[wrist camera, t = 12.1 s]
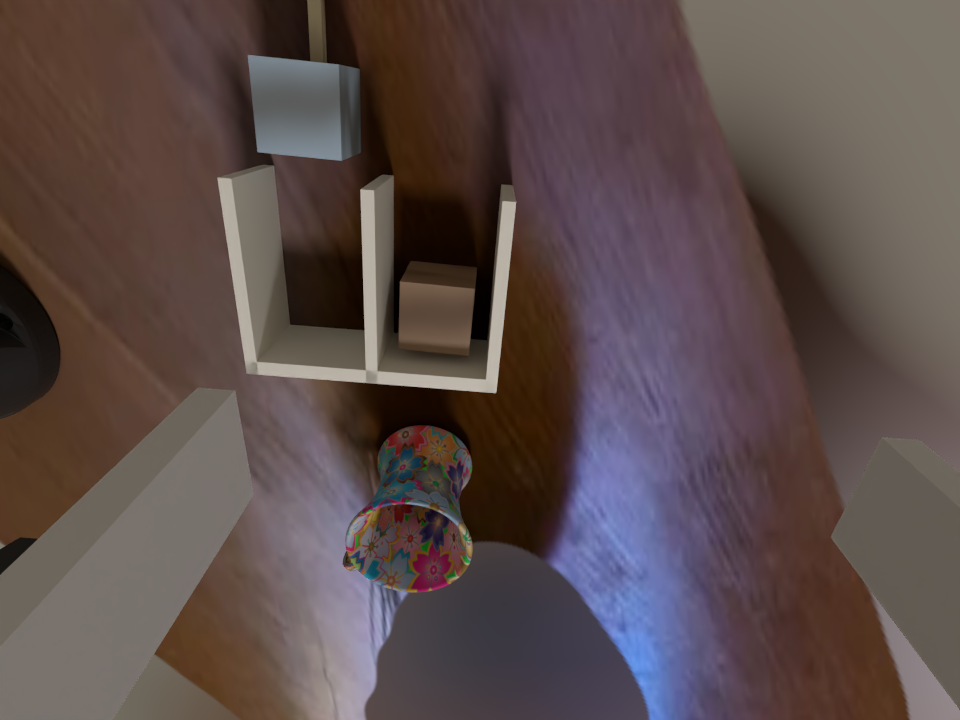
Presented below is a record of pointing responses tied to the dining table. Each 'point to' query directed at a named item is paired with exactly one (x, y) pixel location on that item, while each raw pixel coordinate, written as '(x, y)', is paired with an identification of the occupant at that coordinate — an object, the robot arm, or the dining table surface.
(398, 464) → the mug
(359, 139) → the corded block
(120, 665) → the robot arm
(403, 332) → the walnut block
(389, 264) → the lane rack
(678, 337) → the dining table surface
